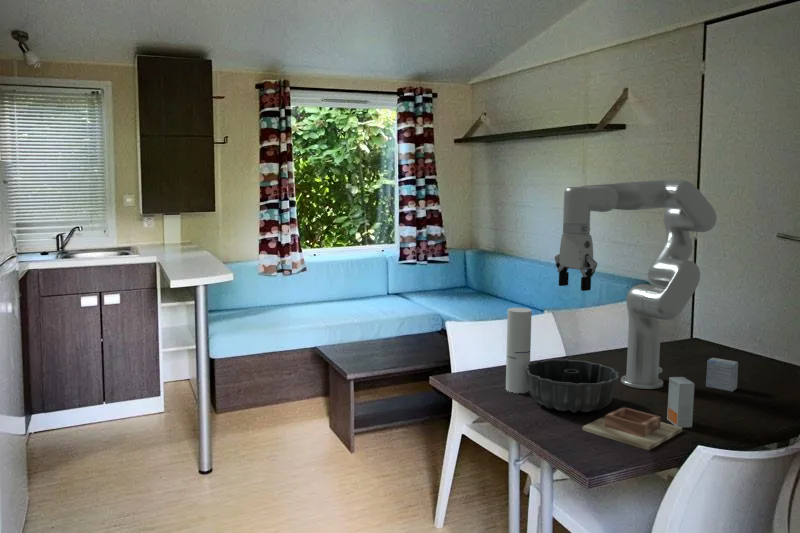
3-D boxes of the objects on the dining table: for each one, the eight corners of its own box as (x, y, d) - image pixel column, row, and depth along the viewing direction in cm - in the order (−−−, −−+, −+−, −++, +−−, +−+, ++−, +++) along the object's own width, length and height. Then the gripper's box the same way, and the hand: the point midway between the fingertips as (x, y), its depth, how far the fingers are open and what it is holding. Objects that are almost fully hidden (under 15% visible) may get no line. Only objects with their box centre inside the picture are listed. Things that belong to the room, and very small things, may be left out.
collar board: (617, 413, 188) (618, 399, 188) (682, 431, 175) (682, 416, 175) (582, 430, 176) (583, 415, 176) (648, 450, 163) (649, 434, 163)
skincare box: (666, 419, 184) (668, 376, 182) (681, 419, 184) (683, 376, 183) (677, 428, 178) (679, 383, 176) (692, 427, 178) (695, 383, 177)
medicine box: (737, 389, 211) (738, 361, 210) (732, 392, 208) (734, 364, 206) (710, 383, 216) (712, 357, 215) (705, 386, 213) (707, 359, 212)
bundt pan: (541, 384, 215) (542, 353, 214) (627, 398, 202) (628, 365, 200) (510, 409, 193) (510, 374, 191) (604, 426, 179) (606, 389, 178)
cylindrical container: (529, 394, 205) (531, 312, 202) (505, 392, 207) (507, 311, 203) (529, 387, 212) (531, 308, 209) (506, 385, 214) (508, 307, 210)
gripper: (607, 231, 191) (605, 291, 194) (566, 227, 207) (565, 282, 209) (586, 232, 188) (584, 293, 190) (546, 228, 204) (545, 284, 206)
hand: (574, 287), depth 200 cm, fingers open, 9 cm apart
